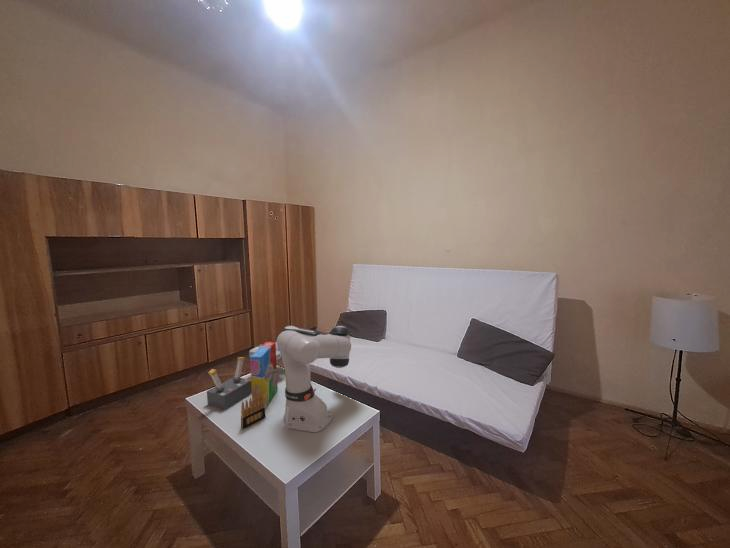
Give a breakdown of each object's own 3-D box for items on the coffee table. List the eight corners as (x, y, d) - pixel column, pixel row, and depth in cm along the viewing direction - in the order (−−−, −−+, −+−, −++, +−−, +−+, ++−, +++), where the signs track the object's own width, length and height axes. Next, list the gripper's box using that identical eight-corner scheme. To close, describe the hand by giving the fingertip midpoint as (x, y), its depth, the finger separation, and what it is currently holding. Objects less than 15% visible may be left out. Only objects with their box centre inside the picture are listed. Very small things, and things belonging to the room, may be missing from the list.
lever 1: (225, 388, 141) (216, 369, 136) (221, 392, 140) (212, 373, 134) (220, 387, 143) (211, 368, 138) (217, 390, 141) (207, 372, 136)
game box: (263, 412, 134) (260, 357, 131) (252, 412, 134) (249, 357, 131) (277, 389, 155) (275, 341, 152) (268, 389, 155) (265, 341, 152)
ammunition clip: (243, 429, 122) (241, 403, 121) (241, 427, 123) (239, 401, 122) (265, 417, 130) (264, 392, 129) (263, 416, 132) (262, 391, 130)
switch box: (252, 392, 152) (251, 380, 151) (224, 410, 136) (223, 395, 136) (235, 388, 157) (235, 375, 156) (207, 404, 141) (206, 390, 141)
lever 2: (240, 381, 150) (245, 357, 152) (236, 382, 148) (241, 357, 150) (235, 380, 151) (241, 356, 154) (232, 380, 149) (237, 357, 152)
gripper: (286, 358, 170) (269, 368, 157) (260, 353, 178) (242, 361, 165) (285, 348, 169) (269, 357, 156) (259, 343, 177) (241, 351, 165)
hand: (255, 359), depth 161 cm, fingers closed
